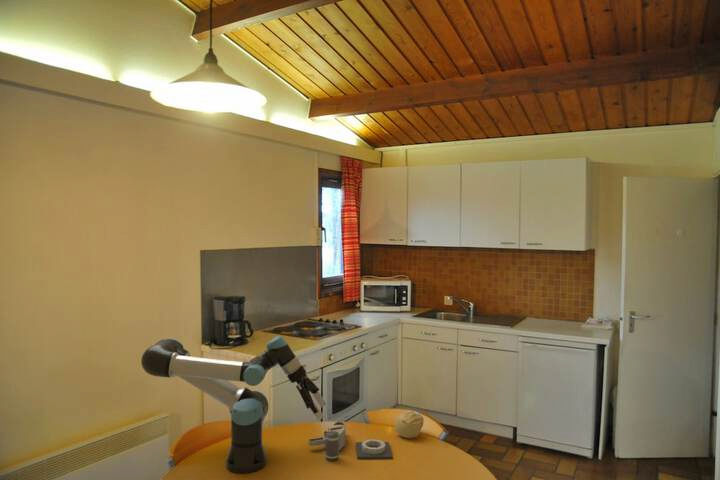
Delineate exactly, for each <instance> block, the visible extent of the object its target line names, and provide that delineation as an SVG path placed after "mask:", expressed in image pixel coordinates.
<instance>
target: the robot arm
mask: <svg viewBox="0 0 720 480" xmlns="http://www.w3.org/2000/svg"><path fill="white" fill-rule="evenodd" d="M265 347H266V350H264V351H262V352H261V353H259V354H257V356H255V357H253V358H251V359H250V360H249V361H241V360H233V359H232V360H230V359H223V358H222V359H220V358H210V357H200V356H192V355H191V351H188V350H187V349H185V348H184V345H183V343H181V342H180V341H179V340H177V339H175V338H165V339H164V338H163V339H161V340H159V341H158V342H156V343H155V344H154V345H150V347H148V348H147V349H146V350H145V351H144V352H143V354H142V356H141V359H140V360H141V362H140V363H141V366H142V369H143V370H144V372H146V373H147V374H148V375H150V376H153V377H158V378H159V377H160V378H170V379H172V378H175V377H179V378H180V379H182V380H184V381H185V382H186V383H189V384H190V385H192V386H193V387H195V388H196V389H198V390H200V391H201V392H203V393H205V394H206V395H208V396H210V397H212V398H213V399H214V400H216V401H218V402H220V403H221V404H223V405H224V406H226V408H228V412H229V414H230V418H231V419H230V420H231V421H230V422H231V423H230V424H231V427H230V429H231V431H230V433H231V439H230V440H231V443H230V448H229V451H228V454H227V457H226V460H225V461H226V462H225V465H226V469H227V470H228V471H230V472H233V473H237V474H249V473H253V472H256V471H258V470H259V471H260V470H261V469H263V468H264V467H265V466H266V465H267V454H266V452H265V447H264V445H263V424H264V421H265V418H266V417H267V415H268V411H269V400H268V398H267V396H266V395H265V394H264V393H263V392H262V391H258V390H251V389H249V388H248V387H247V386H245V387H239V386H238V385H236V384H234V383H233V382H242V383H246V384H247V385H248V386H250V387H255V386H258V385H259V384H261V383H262V382H263V381H264V379H265V377H266V375H267V372H269V370H271V369H272V368H274V367H276V366H277V365H279V367H280V369H281V370H282V372H283V373H284V374H285V375H286V377H287V379H288V380H289V381H290V383H291V384H294V383H296V384H297V385H296V386H295V387H296V389H297V390H298V391H297V392H298V393H299V394H300V396H301V398H302V400H303V402H304V405H305V406H306V407H305V408H306V409H307V410H308V409H310V410H311V412H312V413H313V415H314V416H315V418H316V419H317V421H320V420H322V419H323V418H325V416H324V414H323V412H322V410H320V408H321V409H322V408H323V407H325V406H326V405H327V402H326V400H325V399H324V397H323V396H322V395H321V393H320V388H319V387H318V386H317V385H316V384H315V383H314V382H313V381H312V380H311V379H310V378H309V376H308V375H307V371H306V369H305V368H304V366H303V364H302V363H301V361H299V360H300V358H299V357H297V355H295V353H294V352H293V350H292V348H291V347H290V346H289V344H288V342H287V341H286V340H285V339H284V337H283V336H282V335H277V336H275V337H273V338H272V339H271V340H269V341H268V342H267V343H266V345H265ZM311 394H312V395H311ZM312 396H313V397H312ZM313 398H314V399H315V401H316V402H317V404H318V405H319V407H320V408H319V407H318V405H317V404H316V403H315V402H314V399H313Z"/></svg>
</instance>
